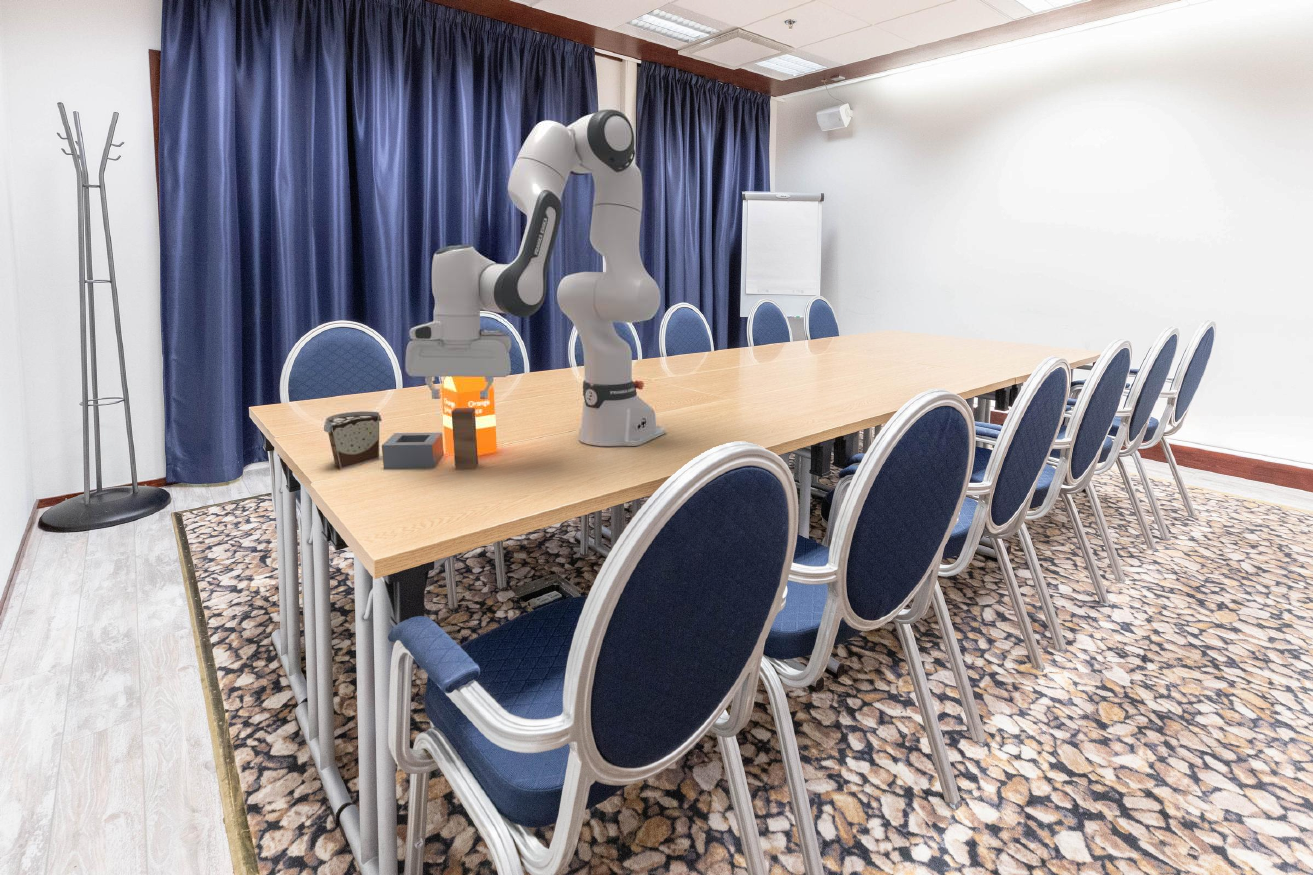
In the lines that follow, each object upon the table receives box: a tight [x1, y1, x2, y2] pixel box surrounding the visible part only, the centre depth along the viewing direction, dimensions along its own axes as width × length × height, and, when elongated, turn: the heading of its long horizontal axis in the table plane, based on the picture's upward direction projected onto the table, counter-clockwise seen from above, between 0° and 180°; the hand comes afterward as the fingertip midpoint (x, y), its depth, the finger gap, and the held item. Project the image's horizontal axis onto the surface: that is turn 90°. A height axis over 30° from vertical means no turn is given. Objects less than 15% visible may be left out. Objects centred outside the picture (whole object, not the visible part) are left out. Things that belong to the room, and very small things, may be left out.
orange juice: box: [440, 377, 498, 456], centre depth 152 cm, size 8×9×20 cm
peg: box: [451, 408, 479, 470], centre depth 142 cm, size 4×4×12 cm
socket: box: [381, 432, 445, 470], centre depth 146 cm, size 10×10×5 cm
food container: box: [323, 410, 383, 470], centre depth 145 cm, size 12×6×10 cm, turn 149°
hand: (460, 398), depth 140 cm, fingers open, 8 cm apart
